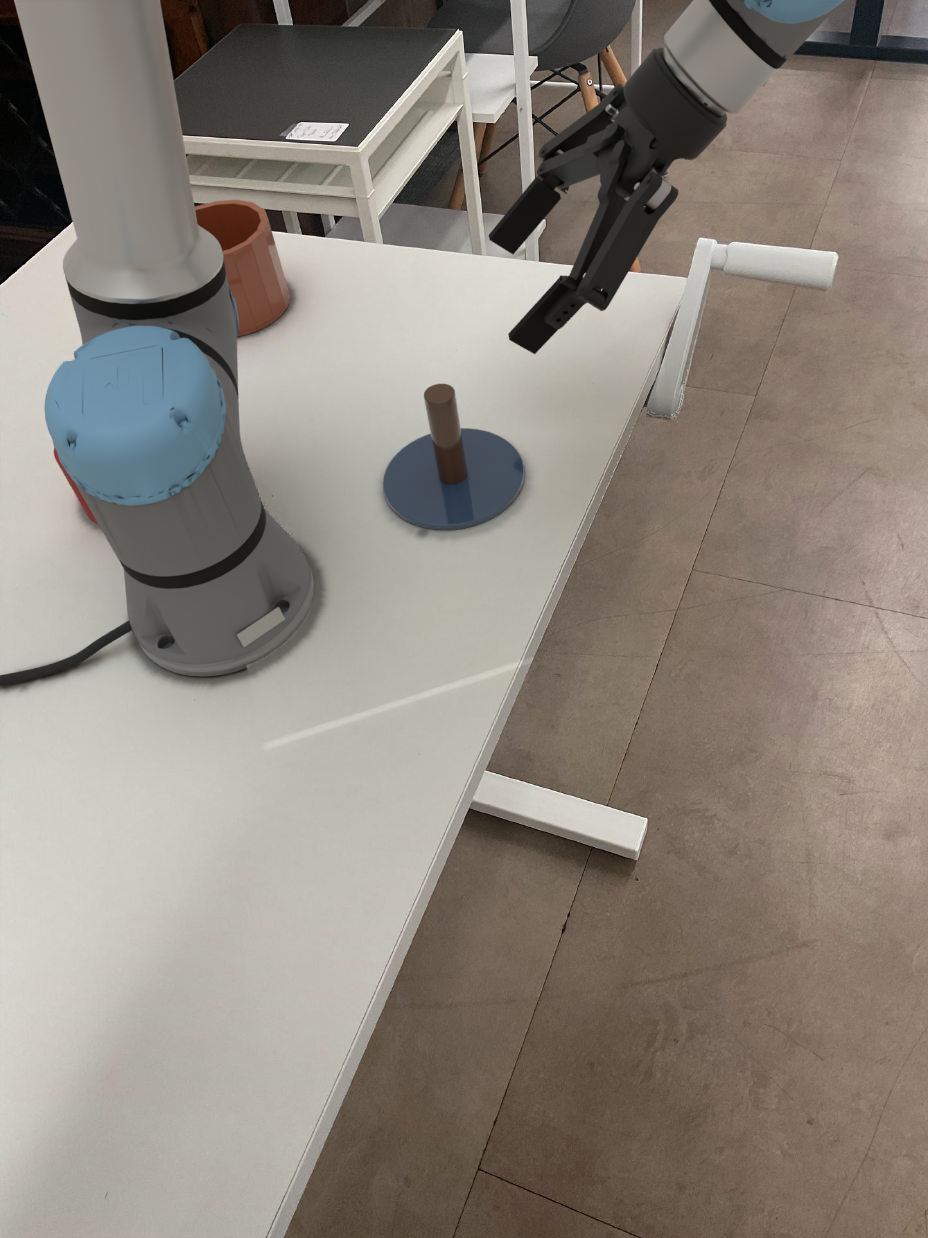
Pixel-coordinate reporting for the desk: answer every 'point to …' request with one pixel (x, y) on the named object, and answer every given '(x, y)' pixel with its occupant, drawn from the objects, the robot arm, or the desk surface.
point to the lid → (452, 471)
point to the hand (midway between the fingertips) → (510, 292)
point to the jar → (248, 260)
